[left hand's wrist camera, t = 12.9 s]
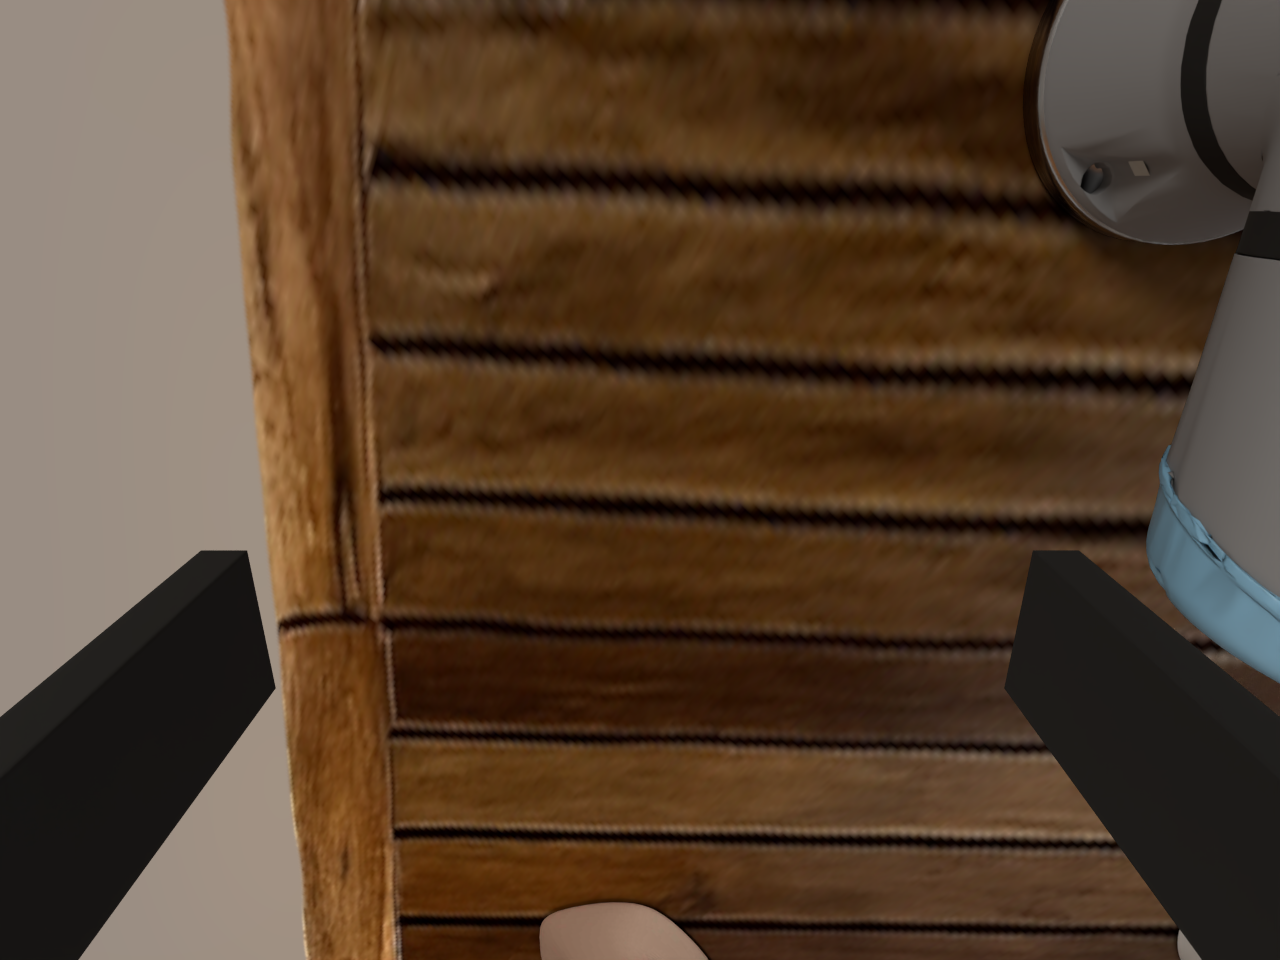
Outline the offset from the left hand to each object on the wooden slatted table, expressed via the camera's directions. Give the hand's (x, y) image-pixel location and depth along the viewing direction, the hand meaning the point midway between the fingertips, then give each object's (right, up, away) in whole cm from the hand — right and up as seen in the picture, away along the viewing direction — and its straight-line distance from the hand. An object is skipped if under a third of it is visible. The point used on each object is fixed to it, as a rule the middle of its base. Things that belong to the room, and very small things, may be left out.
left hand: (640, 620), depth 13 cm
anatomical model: (-1, -33, +44) cm, 55 cm away
